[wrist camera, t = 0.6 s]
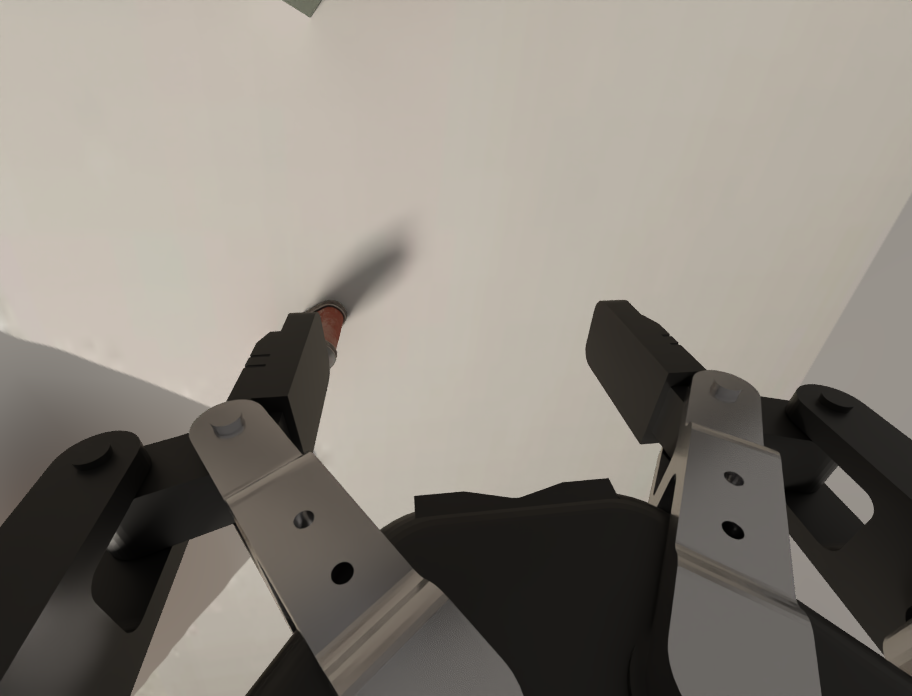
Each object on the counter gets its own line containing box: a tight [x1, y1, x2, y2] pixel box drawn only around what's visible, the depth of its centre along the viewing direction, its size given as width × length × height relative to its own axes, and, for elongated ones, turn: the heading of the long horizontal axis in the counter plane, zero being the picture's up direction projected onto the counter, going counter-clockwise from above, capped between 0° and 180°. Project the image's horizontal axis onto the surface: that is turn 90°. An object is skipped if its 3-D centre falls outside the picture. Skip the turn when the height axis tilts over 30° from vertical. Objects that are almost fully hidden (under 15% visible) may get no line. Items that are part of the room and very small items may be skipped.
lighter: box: [307, 300, 347, 368], centre depth 35 cm, size 8×3×10 cm, turn 126°
